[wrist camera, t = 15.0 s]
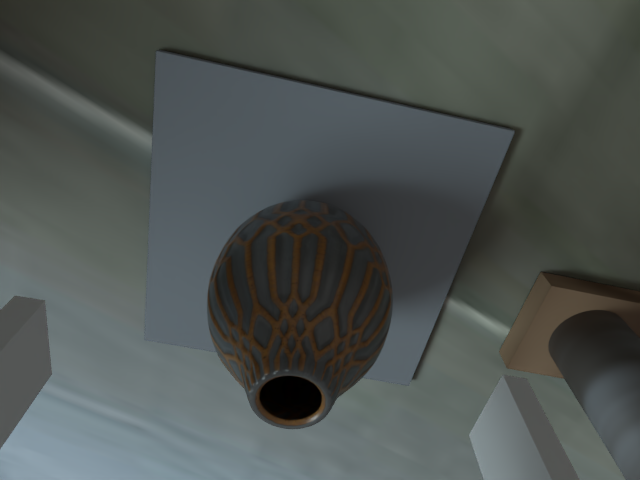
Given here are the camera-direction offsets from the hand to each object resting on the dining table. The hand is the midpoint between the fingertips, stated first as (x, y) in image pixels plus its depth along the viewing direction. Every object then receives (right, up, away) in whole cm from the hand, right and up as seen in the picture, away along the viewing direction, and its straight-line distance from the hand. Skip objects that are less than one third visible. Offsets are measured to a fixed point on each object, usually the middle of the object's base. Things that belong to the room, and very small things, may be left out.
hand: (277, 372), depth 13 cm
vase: (+1, +4, +8) cm, 8 cm away
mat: (+1, +4, +8) cm, 9 cm away
